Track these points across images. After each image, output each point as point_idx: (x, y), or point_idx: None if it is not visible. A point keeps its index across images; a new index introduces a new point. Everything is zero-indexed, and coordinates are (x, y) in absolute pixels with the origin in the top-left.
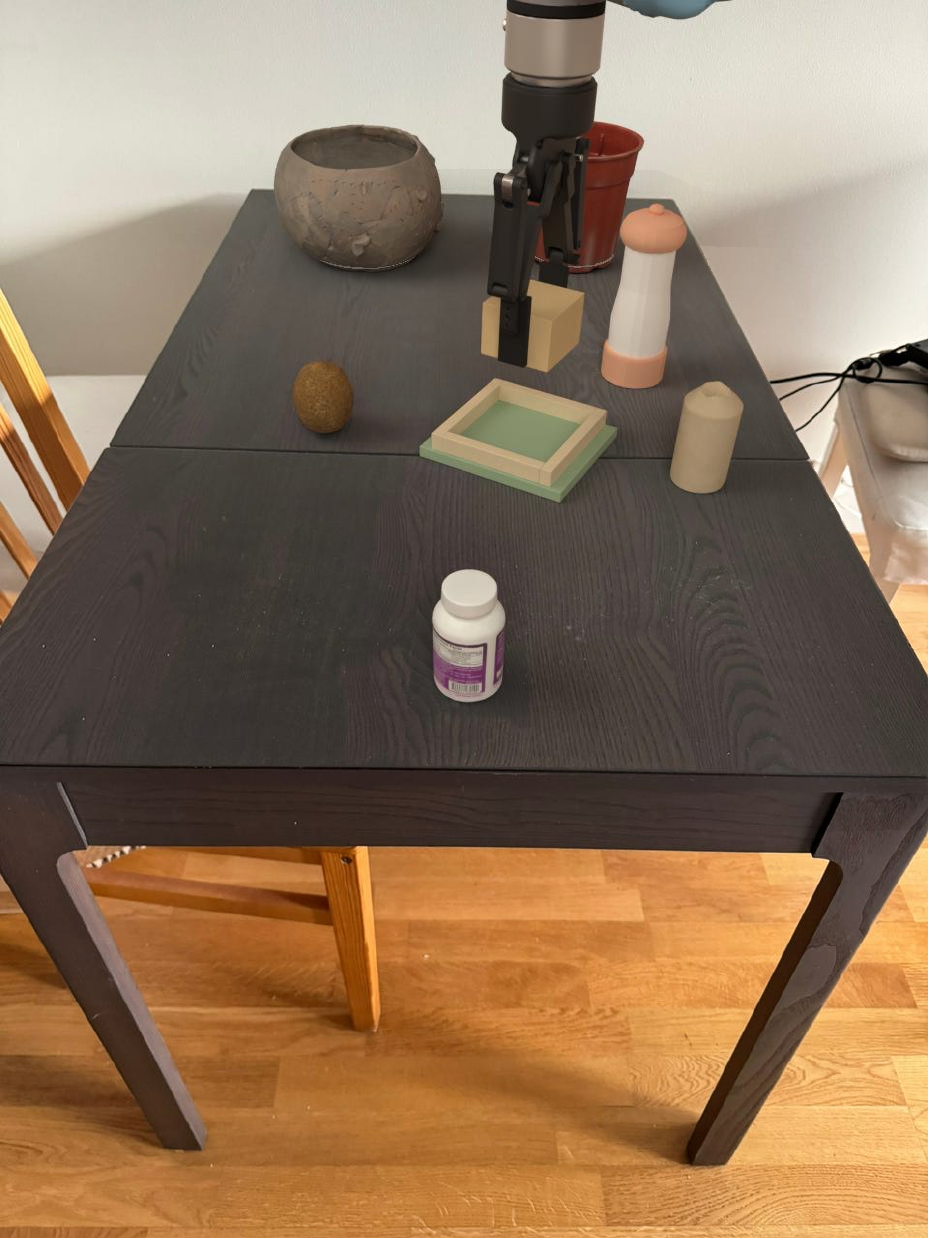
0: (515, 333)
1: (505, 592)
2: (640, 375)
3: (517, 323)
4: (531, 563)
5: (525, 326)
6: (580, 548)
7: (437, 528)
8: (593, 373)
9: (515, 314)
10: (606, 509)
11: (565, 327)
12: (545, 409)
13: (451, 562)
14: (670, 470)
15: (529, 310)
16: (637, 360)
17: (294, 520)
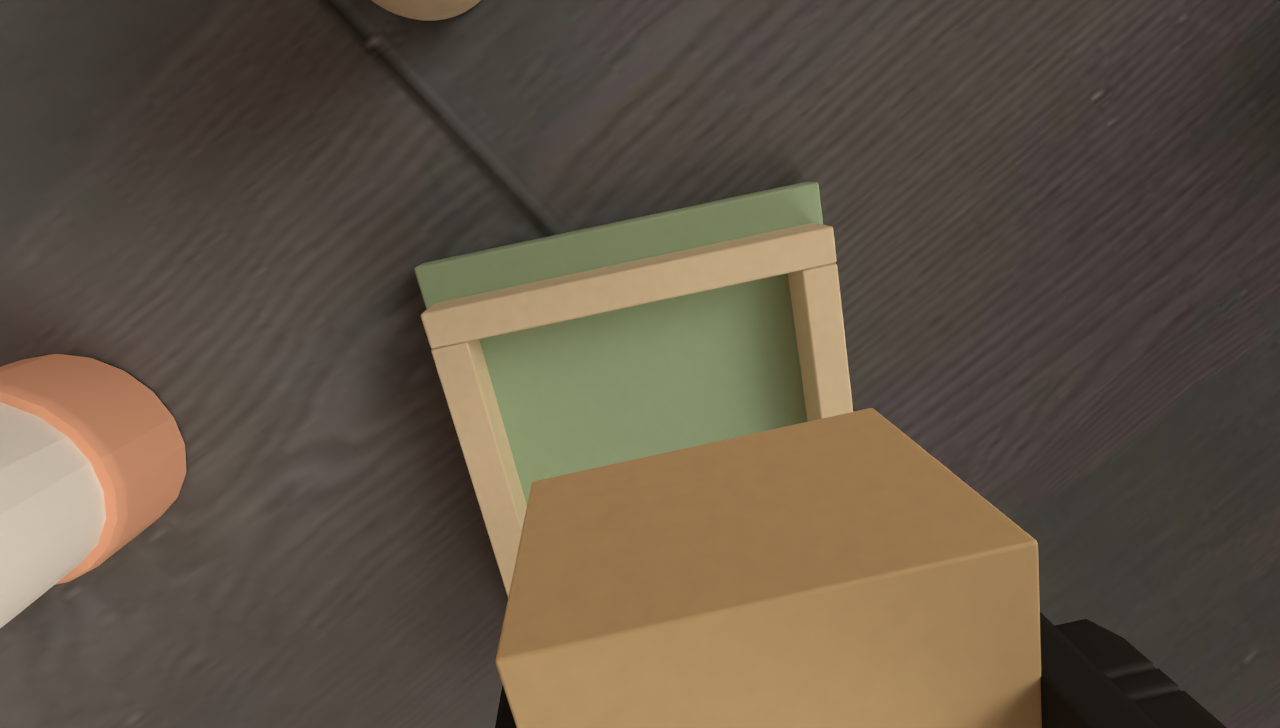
0: (1082, 628)
1: (1197, 49)
2: (104, 395)
3: (1107, 670)
4: (1067, 72)
5: (1053, 630)
6: (945, 7)
7: (1066, 340)
8: (186, 525)
9: (1204, 721)
10: (749, 61)
11: (753, 519)
12: (513, 472)
13: (1159, 228)
14: (472, 2)
15: (1096, 704)
16: (77, 429)
17: (1193, 567)
